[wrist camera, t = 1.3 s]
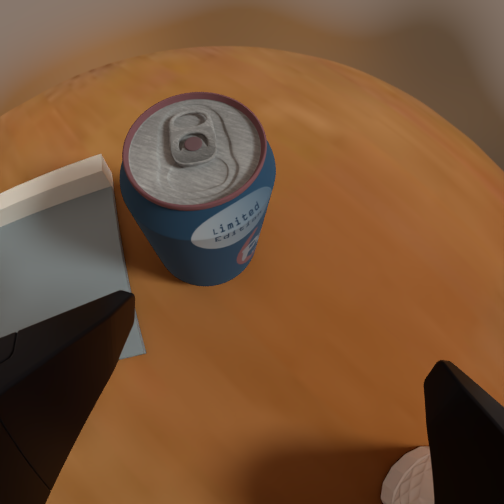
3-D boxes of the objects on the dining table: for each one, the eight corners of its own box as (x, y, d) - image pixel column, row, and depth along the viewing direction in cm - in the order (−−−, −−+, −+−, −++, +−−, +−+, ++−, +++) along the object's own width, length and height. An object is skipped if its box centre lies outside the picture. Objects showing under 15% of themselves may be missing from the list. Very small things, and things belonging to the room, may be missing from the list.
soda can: (264, 279, 23) (303, 205, 11) (167, 297, 22) (109, 240, 10) (244, 192, 25) (260, 75, 13) (155, 208, 24) (110, 99, 12)
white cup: (399, 531, 17) (461, 580, 7) (355, 489, 18) (422, 545, 9) (461, 469, 19) (537, 493, 9) (427, 420, 20) (515, 438, 11)
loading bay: (146, 353, 20) (134, 353, 18) (7, 380, 18) (-14, 381, 15) (111, 173, 24) (101, 153, 21) (-7, 218, 22) (-25, 205, 19)
